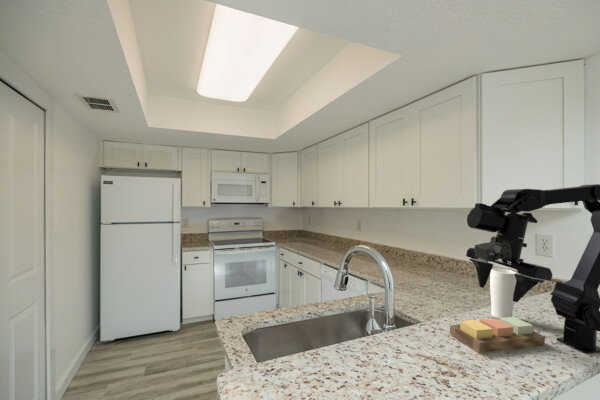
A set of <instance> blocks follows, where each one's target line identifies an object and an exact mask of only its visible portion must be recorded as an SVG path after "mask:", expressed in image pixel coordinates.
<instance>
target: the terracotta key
mask: <svg viewBox="0 0 600 400" xmlns="http://www.w3.org/2000/svg"><path fill="white" fill-rule="evenodd" d="M479 322H481V323H483V324H485V325H487V326H489V327H490V328H492V329H493V335H495V336H497V337H503V336H513V327H512V326H510V325H508V324H506V323H504V322H502V321H500V319H497V318H495V317H493V318H483V319H480V321H479Z"/></svg>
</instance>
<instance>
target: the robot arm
mask: <svg viewBox="0 0 600 400" xmlns="http://www.w3.org/2000/svg"><path fill="white" fill-rule="evenodd" d="M575 202H582V203H583V208H584V209H585V210H586V211H588V212H589V214H591V217H590V223H591V226H592V230H593V232H592V235H591V236H590V238H589V240H588V242H587V245H586V246H585V249H584V250H583V253H582V255H581V256H580V260H579V261H578V264H577V266H576V267H575V269H574V271H573V274H572V276H571V278H570V279H569V280H568V281H565V282H561V281H556V283H555V286H554V289H553V290H552V292H551V293H550V295H551V298H550V302H551V304H552V306H553V308H554V310H555V313H556V315H557V316H559V317H562V318H564V321H563V322H564V323H563V324H564V325H563V336H562V337H556V341H558V342H560V343H562V344H565V345H567V346H569V347H571V348H573V349H574V350H575V349H576V351H577V350H578V351H580V352H582V353H584V354H594V353H600V346H597V340H598V339H597V338H598V337H597V336H598V332H600V293H599V286H600V184H599V183H598V184H582V185H580V186H579V185H578V186H569V187H561V188H552V189H551V188H550V189H535V188H533V189H532V188H519V189H518V188H517V189H516V188H515V189H507V190H504V191H502V194H501V195H500V197H499V198H498V199H496V201H494V202H493V203H492V204H491V205H488V204H485V203H480V202H479V203H475V204H474V207H473V208H472V209H471V210H470V212H469V213H468V214H467V217H466V223H467V226H468V227H469V228H471V229H474V230H479V231H483V232H484V231H485V232H490V233H496V235H495V236H491V238H490V241H488V242H483V243H478V244H475V245H474V247H469V248H468V249H467V250H466V255H465V256H466V257H468V258H469V261H471V263H472V264H473V265H474V266H475V270H476V273H477V279H478V285H479V288H485V287H486V284H487V282H488V279H489V278H490V272H491V270H492V268H493V267H494V264H498V265H501V266H504V267H508V268H511V269H514V270H516V271H517V272H518V273H517V274H514V275H515V278H516V285H515V289H514V294H513V301H514V303H518V302H519V301H520V300H521V299H522V298H523V297H524V296H525V295H526V294H527V293H528V292H529V291H530V290H531V289H532V288H534V287H535V286H536V285H537V284H539V283H545V281H549V282H551V281H552V280H553V279H552V278H553V272H552V270H551V268H550V267H545V266H542V265H539V264H534V263H531V262H530V263H529V262H524V260H525V259H524V258H521V256H522V251H523V248H527V247H528V243H525V242H524V241H525V239H526V238H525V237H526V233H527V227H528V223H530V224H531V223H534V224H537V223H538V220H537V218H536V217H534V216H533V213H532V212H533V211H535V210H539V209H542V208H544V207H545V206H549V205H554V204H566V203H575ZM520 212H523V213H520ZM506 213H507V214H506Z"/></svg>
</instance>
